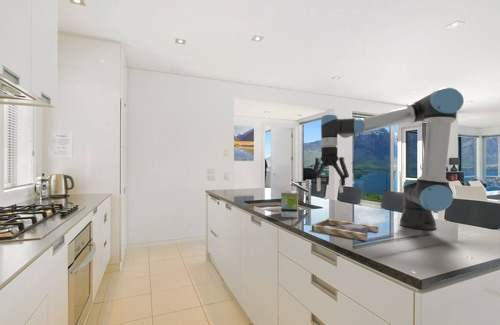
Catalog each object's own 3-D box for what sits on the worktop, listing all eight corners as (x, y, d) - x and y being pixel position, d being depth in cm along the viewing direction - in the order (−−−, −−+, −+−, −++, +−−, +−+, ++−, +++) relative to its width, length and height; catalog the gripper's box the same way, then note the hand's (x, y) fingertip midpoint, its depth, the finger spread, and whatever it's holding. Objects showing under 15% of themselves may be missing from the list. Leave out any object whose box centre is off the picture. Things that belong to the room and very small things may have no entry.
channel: (378, 231, 115) (378, 226, 115) (366, 240, 102) (366, 234, 102) (328, 223, 132) (327, 218, 132) (311, 230, 118) (311, 225, 118)
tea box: (297, 218, 146) (297, 192, 146) (280, 217, 148) (280, 192, 148) (298, 213, 161) (298, 190, 161) (282, 212, 163) (282, 190, 163)
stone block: (334, 235, 116) (350, 236, 107) (332, 225, 117) (348, 225, 108) (353, 233, 121) (370, 234, 112) (351, 223, 122) (368, 223, 113)
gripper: (304, 147, 127) (304, 190, 127) (350, 145, 111) (351, 194, 111) (311, 148, 132) (311, 189, 132) (356, 146, 117) (356, 192, 117)
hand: (329, 191), depth 122 cm, fingers open, 11 cm apart
